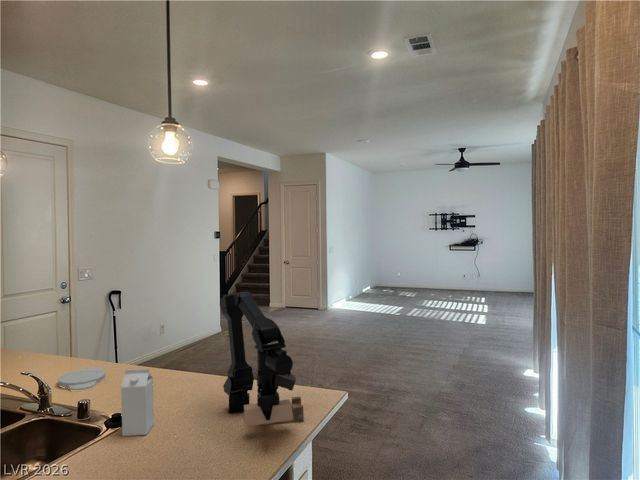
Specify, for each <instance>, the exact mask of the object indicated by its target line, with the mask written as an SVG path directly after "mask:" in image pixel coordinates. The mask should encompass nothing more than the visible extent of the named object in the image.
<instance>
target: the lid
mask: <svg viewBox="0 0 640 480" xmlns="http://www.w3.org/2000/svg"><path fill="white" fill-rule="evenodd" d="M106 374H107V371H106V370H105V369H103V368H100V367H99V368H98V367H88V368H82V369H76V370H72V371H69V372H66V373H63V374H61V375H60V376H59V377H58V379H57V382H58V385H60V386H62V387H65V388H69V389H70V390H84V391H86V390H85V389H88V390H90V389H89V388H91V389H93V388H92V387H94V386H95V385H96V386H97V385H98V384H100V383H99V382H101V381H102V380H103V379H104V378H105V379H106ZM105 379H104V380H105ZM104 380H103V381H104ZM103 381H102V382H103ZM102 382H101V383H102ZM97 383H98V384H97ZM60 386H59V387H60ZM96 386H95V387H96ZM95 387H94V388H95ZM70 390H69V391H70Z"/></svg>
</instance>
